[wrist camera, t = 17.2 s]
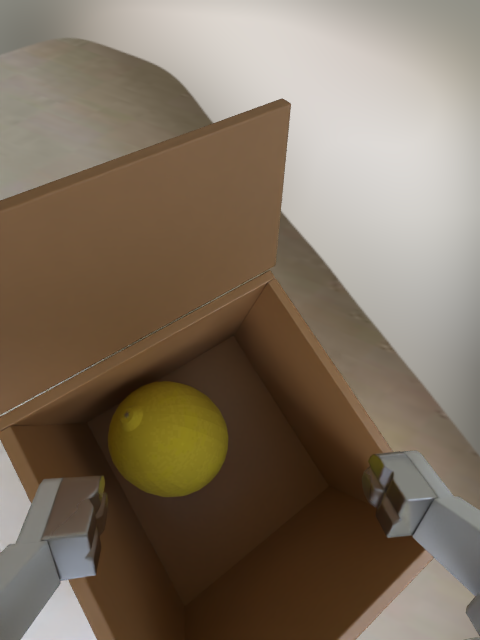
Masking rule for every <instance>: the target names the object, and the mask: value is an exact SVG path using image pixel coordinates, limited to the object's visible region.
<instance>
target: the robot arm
mask: <svg viewBox="0 0 480 640" xmlns="http://www.w3.org/2000/svg"><path fill="white" fill-rule="evenodd" d="M368 463H369V465H370V467H368V468H367V469H366V470H365V471H364V473H363V476H362V488H363V491H364V494H365V496H366V498H367V500H368V502H369V503H370V504H372V505H373V506H374V507H375V508H377V509H376V518H377V520H378V522H379V523H380V525H381V527H382V529H383V531H384V533H385V535H386V537H387V538H391V537H402V536H412V535H413V538H414V539H415V540H416V541H417V542H418V543H419V544H420V545H421V546H422V547H423V548H424V549H426V550H427V551H428V552H429V553H430V554H431V555H432V556H433V557H434V558H435V559H436V560H437V561H438V562H439V563H440V564H442V565H443V566H444V567H445V568H446V569H447V570H448V571H449V572H450V573H451V574H452V575H453V576H454V577H455V578H456V579H458V580H459V581H460V582H461V583H462V584H463V585H464V586H465V587H466V588H467V589H468V590H469V591H470V592H471V593H472V594H474V595H475V596H476V597H475V598H474V599H473V600H472V601H471V602H470V604H469V605H468V606H467V608H466V614H467V615H468V617H469V619H470V621H471V622H472V624H473V626H474V627H475V629H476V631H477V632H478V634H479V636H480V510H478V509H477V508H475V507H474V506H472V505H471V504H469V503H468V502H466V501H465V500H463V499H462V498H460V497H459V496H455V497H454V496H453V495H452V493H451V492H450V491H449V489H448V488H447V487H446V486H445V484H444V483H443V482H442V480H441V479H440V478H439V476H438V475H437V474H436V472H435V471H434V470H433V469H432V467H431V466H430V465H429V463H428V462H427V461H426V459H425V458H424V457H423V455H422V454H421V453H419V452H418V451H405V452H400V451H399V452H388V453H378V454H373V455H371V456H370V458H369V460H368ZM104 487H105V479H104V475H103V476H85V477H67V478H51V479H43V481H42V482H41V484H40V485H39V487H38V489H37V492H36V494H35V497H34V499H33V502H32V504H31V507H30V509H29V512H28V514H27V517H26V519H25V522H24V524H23V527H22V529H21V531H20V534H19V536H18V539H17V541H16V544H10V545H8V546H7V547H6V548H5V549H4V550H3V551H2V552H1V553H0V640H20V639H21V638H22V637H23V635H24V634H25V632H26V631H27V630H28V628H29V627H30V625H31V624H32V623H33V621H34V620H35V618H36V617H37V616H38V614H39V613H40V611H41V610H42V609H43V607H44V606H45V604H46V603H47V602H48V600H49V599H50V597H51V596H52V595H53V593H54V592H55V590H56V589H57V588H58V586H59V585H60V583H61V582H60V581H62V580H69V579H75V578H81V577H88V576H94V575H96V573H97V568H98V563H99V558H100V553H101V548H102V547H101V541H100V535H101V534H102V533H103V531H104V530H105V526H106V520H107V511H108V498H107V493H106V492H104ZM465 640H480V637H475V638H470V639H465Z"/></svg>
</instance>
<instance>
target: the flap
mask: <svg viewBox="0 0 480 640" xmlns="http://www.w3.org/2000/svg"><path fill="white" fill-rule="evenodd" d="M290 109H291V104H290V103H289V102H287V101H286V100H284V99H279V100H276V101H274V102H271V103H268V104H265V105H263V106H260V107H257V108H254V109H252V110H249V111H246V112H244V113H241V114H238V115H235V116H232V117H230V118H227V119H224V120H222V121H219V122H216V123H213V124H210V125H208V126H205V127H202V128H199V129H197V130H194V131H191V132H188V133H185V134H183V135H180V136H177V137H174V138H172V139H169V140H166V141H163V142H161V143H158V144H155V145H152V146H150V147H147V148H144V149H141V150H139V151H136V152H133V153H130V154H128V155H125V156H122V157H119V158H117V159H114V160H111V161H108V162H106V163H103V164H100V165H97V166H94V167H92V168H89V169H86V170H83V171H81V172H78V173H75V174H72V175H70V176H67V177H64V178H61V179H59V180H56V181H53V182H50V183H48V184H45V185H42V186H39V187H37V188H34V189H31V190H28V191H26V192H23V193H20V194H17V195H15V196H12V197H9V198H6V199H3V200H1V201H0V415H1V414H3V413H4V412H6V411H8V410H10V409H12V408H14V407H15V406H17V405H19V404H21V403H23V402H25V401H27V400H28V399H30V398H32V397H34V396H36V395H38V394H39V393H41V392H43V391H45V390H47V389H49V388H50V387H52V386H54V385H56V384H58V383H60V382H62V381H63V380H65V379H67V378H69V377H71V376H73V375H74V374H76V373H78V372H80V371H82V370H84V369H85V368H87V367H89V366H91V365H93V364H95V363H97V362H98V361H100V360H102V359H104V358H106V357H108V356H109V355H111V354H113V353H115V352H117V351H119V350H120V349H122V348H124V347H126V346H128V345H130V344H132V343H133V342H135V341H137V340H139V339H141V338H143V337H144V336H146V335H148V334H150V333H152V332H154V331H155V330H157V329H159V328H161V327H163V326H165V325H167V324H168V323H170V322H172V321H174V320H176V319H178V318H179V317H181V316H183V315H185V314H187V313H189V312H190V311H192V310H194V309H196V308H198V307H200V306H202V305H203V304H205V303H207V302H209V301H211V300H213V299H214V298H216V297H218V296H220V295H222V294H224V293H225V292H227V291H229V290H231V289H233V288H235V287H237V286H238V285H240V284H242V283H244V282H246V281H248V280H249V279H251V278H253V277H255V276H257V275H259V274H260V273H262V272H264V271H266V270H268V269H270V268H272V267H273V266H275V265H276V254H277V244H278V234H279V223H280V213H281V203H282V192H283V182H284V171H285V161H286V151H287V139H288V130H289V119H290Z"/></svg>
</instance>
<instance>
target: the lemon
mask: <svg viewBox="0 0 480 640" xmlns="http://www.w3.org/2000/svg"><path fill="white" fill-rule="evenodd" d="M108 448H109V452H110V455H111V458H112V461H113V463H114V465H115V466H116V468H117V469H118V471H119V472H120V473H121V475H122V476H123V477H124V478H125V479H126V480H127V481H129V482H130V483H132V484H133V485H134V486H136V487H137V488H139V489H141V490H142V491H144V492H146V493H150V494H153V495H158V496H162V497H178V496H186V495H188V494H191V493H193V492H196V491H198V490H200V489H201V488H203V487H204V486H205V485H207V484H208V483H209V482H211V481H212V480H213V478H214V477H215V476H216V475H217V474H218V472H219V471H220V469H221V467H222V465H223V463H224V461H225V458H226V454H227V450H228V432H227V426H226V423H225V420H224V418H223V416H222V414H221V412H220V410H219V409H218V407H217V406H216V405H215V404H214V403H213V402H212V401H211V400H210V398H209V397H207V396H206V395H205V394H203V393H202V392H200V391H198V390H197V389H195V388H193V387H191V386H188V385H185V384H181V383H176V382H171V381H161V382H153V383H150V384H146V385H143V386H141V387H139V388H138V389H136V390H134V391H133V392H131V393H130V394H129V395H128V396H127V397H126V398H125V399H124V400H123V401H122V402H121V403H120V405H119V406H118V407H117V409H116V411H115V413H114V415H113V417H112V420H111V423H110V426H109V432H108Z"/></svg>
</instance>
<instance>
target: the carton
mask: <svg viewBox="0 0 480 640" xmlns="http://www.w3.org/2000/svg"><path fill="white" fill-rule="evenodd" d="M161 381H171V382H176V383H181V384H185V385H188V386H191V387H193V388H195V389H197V390H198V391H200V392H202V393H203V394H205V395H206V396H207V397H209V398H210V400H211V401H212V402H213V403H214V404H215V405H216V406H217V407H218V409H219V410H220V412H221V414H222V416H223V418H224V420H225V423H226V426H227V432H228V450H227V454H226V458H225V461H224V463H223V465H222V467H221V469H220V471H219V472H218V474H217V475H216V476H215V477H214V478H213V480H212V481H211V482H209V483H208V484H207V485H205V486H204V487H203V488H201V489H200V490H198V491H196V492H193V493H191V494H188V495H186V496H178V497H162V496H158V495H153V494H150V493H146V492H144V491H142V490H141V489H139V488H137V487H136V486H134V485H133V484H132V483H130V482H129V481H127V480H126V479H125V478H124V477H123V476H122V475H121V473H120V472H119V471H118V469H117V468H116V466H115V465H114V463H113V461H112V458H111V455H110V452H109V448H108V432H109V426H110V423H111V420H112V417H113V415H114V413H115V411H116V409H117V407H118V406H119V405H120V403H121V402H122V401H123V400H124V399H125V398H126V397H127V396H128V395H129V394H130V393H131V392H133V391H134V390H136V389H138V388H139V387H141V386H143V385H146V384H150V383H153V382H161ZM0 440H1V442H2V444H3V446H4V448H5V450H6V452H7V454H8V456H9V458H10V460H11V462H12V465H13V467H14V469H15V471H16V473H17V475H18V477H19V479H20V481H21V483H22V485H23V487H24V489H25V491H26V494H27V496H28V498H29V500H30V502H31V504H32V502H33V499H34V497H35V494H36V492H37V489H38V487H39V485H40V484H41V482H42V481H43V479H51V478H67V477H85V476H103V475H104V479H105V487H104V492H106V493H107V498H108V511H107V520H106V526H105V530H104V531H103V533H102V534H101V535H100V541H101V547H102V548H101V553H100V558H99V563H98V568H97V573H96V575H94V576H88V577H81V578H75V579H69V583H70V585H71V587H72V589H73V591H74V593H75V595H76V597H77V599H78V601H79V603H80V605H81V607H82V609H83V612H84V614H85V616H86V618H87V620H88V622H89V624H90V626H91V628H92V630H93V632H94V634H95V636H96V638H97V640H356V639H357V638H358V636H359V635H360V634H361V633H362V632H363V631H364V630H365V629H366V628H367V627H368V626H369V625H370V624H371V623H372V622H373V621H374V620H375V619H376V618H377V617H378V616H379V615H380V614H381V612H382V611H383V610H384V609H385V608H386V607H387V606H388V605H389V604H390V603H391V602H392V601H393V600H394V599H395V598H396V597H397V596H398V595H399V594H400V593H401V592H402V591H403V589H404V588H405V587H406V586H407V585H408V584H409V583H410V582H411V581H412V580H413V579H414V578H415V577H416V576H417V575H418V574H419V573H420V572H421V571H422V570H423V569H424V568H425V567H426V565H427V564H428V563H429V562H430V561H431V560H432V559H433V558H434V557H433V556H432V555H431V554H430V553H429V552H428V551H427V550H426V549H424V548H423V547H422V546H421V545H420V544H419V543H418V542H417V541H416V540H415V539H414V538H413V535H412V536H402V537H391V538H387V537H386V535H385V533H384V531H383V529H382V527H381V525H380V523H379V522H378V520H377V518H376V509H377V508H375V507H374V506H373V505H372V504H370V503H369V502H368V500H367V498H366V496H365V494H364V491H363V488H362V476H363V473H364V471H365V470H366V469H367V468H368V467H370V465H369V463H368V460H369V458H370V456H371V455H373V454H378V453H388V452H393V451H392V449H391V448H390V446H389V445H388V443H387V442H386V440H385V439H384V437H383V436H382V434H381V433H380V432H379V430H378V429H377V427H376V426H375V424H374V423H373V421H372V420H371V418H370V417H369V415H368V414H367V412H366V411H365V409H364V408H363V406H362V405H361V403H360V402H359V401H358V399H357V398H356V396H355V395H354V393H353V392H352V390H351V389H350V387H349V386H348V384H347V383H346V381H345V380H344V378H343V377H342V375H341V374H340V372H339V371H338V370H337V368H336V367H335V365H334V364H333V362H332V361H331V359H330V358H329V356H328V355H327V353H326V352H325V350H324V349H323V347H322V346H321V344H320V343H319V341H318V340H317V339H316V337H315V336H314V334H313V333H312V331H311V330H310V328H309V327H308V325H307V324H306V322H305V321H304V319H303V318H302V316H301V315H300V313H299V312H298V311H297V309H296V308H295V306H294V305H293V303H292V302H291V300H290V299H289V297H288V296H287V294H286V293H285V291H284V290H283V288H282V287H281V285H280V284H279V282H278V281H277V280H276V279H275V277H274V275H273V274H272V272H271V271H270V270H269V271H267V272H265V273H263V274H262V275H260V276H258V277H256V278H254V279H252V280H251V281H249V282H247V283H245V284H243V285H241V286H240V287H238V288H236V289H234V290H232V291H230V292H229V293H227V294H225V295H223V296H221V297H219V298H218V299H216V300H214V301H212V302H210V303H208V304H207V305H205V306H203V307H201V308H199V309H197V310H196V311H194V312H192V313H190V314H188V315H186V316H185V317H183V318H181V319H179V320H177V321H175V322H173V323H172V324H170V325H168V326H166V327H164V328H162V329H161V330H159V331H157V332H155V333H153V334H151V335H150V336H148V337H146V338H144V339H142V340H140V341H139V342H137V343H135V344H133V345H131V346H129V347H128V348H126V349H124V350H122V351H120V352H118V353H117V354H115V355H113V356H111V357H109V358H107V359H106V360H104V361H102V362H100V363H98V364H96V365H95V366H93V367H91V368H89V369H87V370H85V371H84V372H82V373H80V374H78V375H76V376H74V377H73V378H71V379H69V380H67V381H65V382H63V383H61V384H60V385H58V386H56V387H54V388H52V389H50V390H49V391H47V392H45V393H43V394H41V395H39V396H38V397H36V398H34V399H32V400H30V401H28V402H27V403H25V404H23V405H21V406H19V407H17V408H16V409H14V410H12V411H10V412H8V413H6V414H5V415H3V416H1V417H0Z"/></svg>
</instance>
